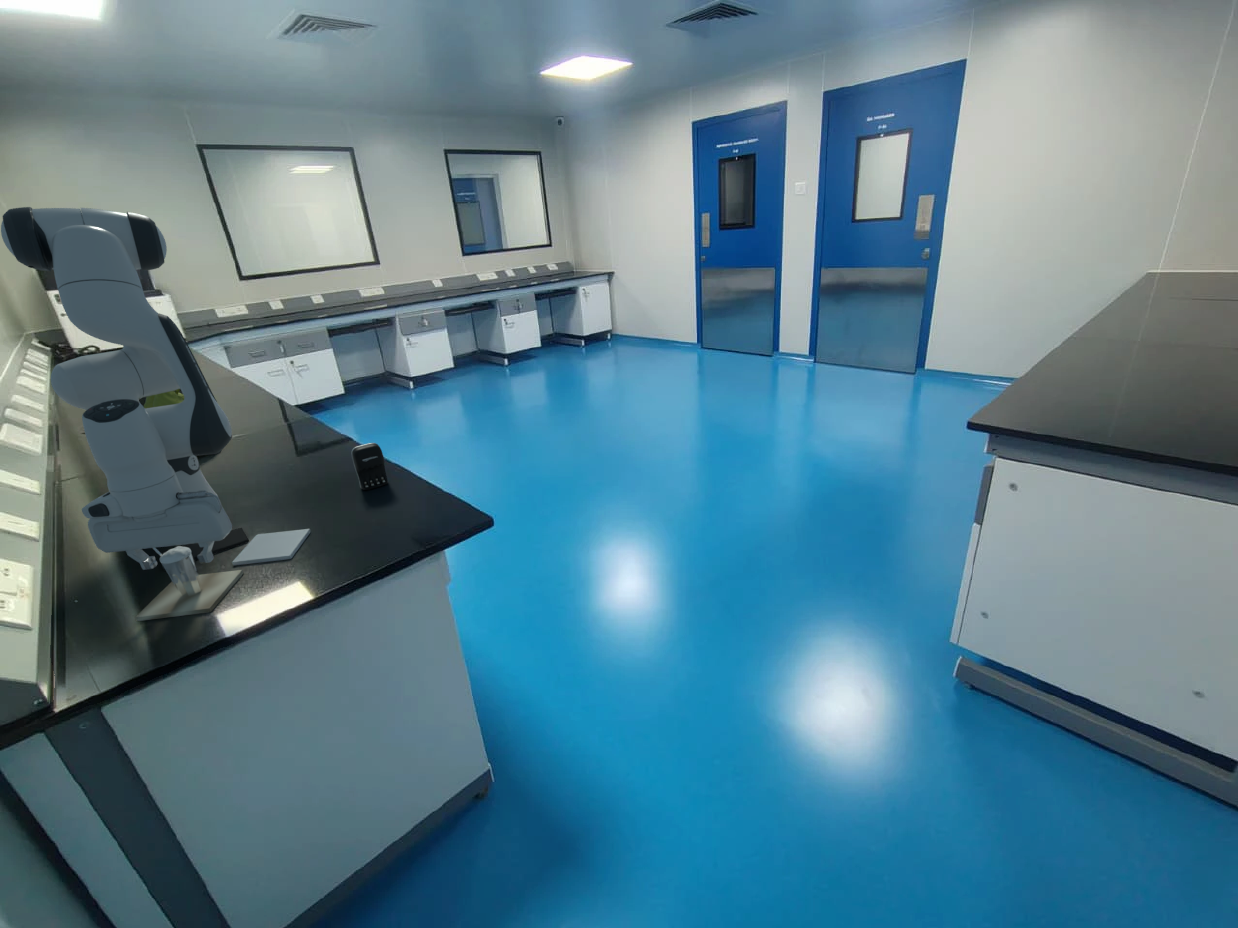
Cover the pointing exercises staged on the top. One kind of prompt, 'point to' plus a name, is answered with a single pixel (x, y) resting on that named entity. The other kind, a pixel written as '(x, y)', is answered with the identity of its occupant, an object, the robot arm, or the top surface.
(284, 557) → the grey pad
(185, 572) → the milkshake
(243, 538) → the phone
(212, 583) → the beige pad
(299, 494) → the top surface
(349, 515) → the top surface
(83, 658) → the top surface
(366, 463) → the battery charger
